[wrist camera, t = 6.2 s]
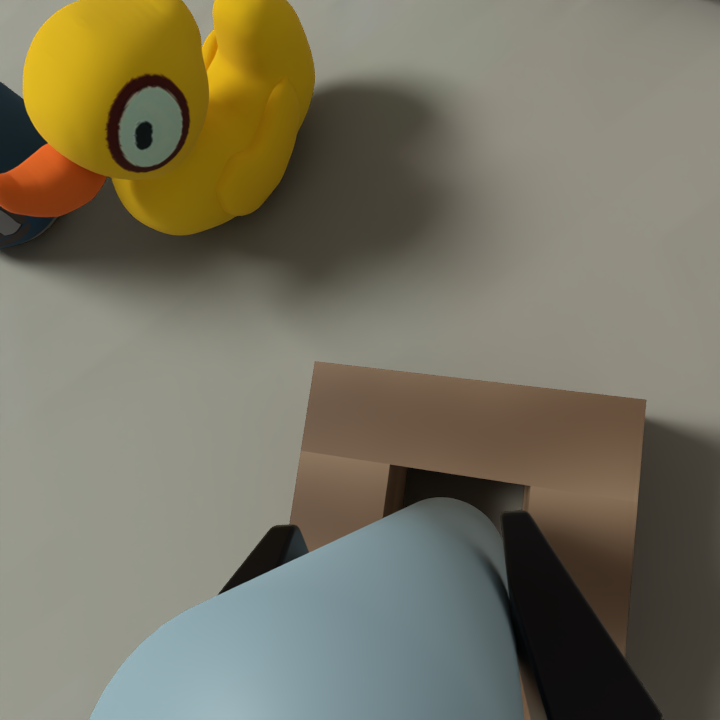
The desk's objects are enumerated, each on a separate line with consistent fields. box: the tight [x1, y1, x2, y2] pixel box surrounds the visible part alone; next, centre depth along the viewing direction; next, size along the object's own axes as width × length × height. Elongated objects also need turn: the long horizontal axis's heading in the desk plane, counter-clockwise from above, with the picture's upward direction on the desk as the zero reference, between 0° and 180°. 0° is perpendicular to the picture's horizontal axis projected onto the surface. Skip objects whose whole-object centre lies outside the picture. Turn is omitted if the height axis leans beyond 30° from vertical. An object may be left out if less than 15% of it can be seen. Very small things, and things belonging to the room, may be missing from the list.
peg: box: [89, 497, 524, 720], centre depth 10 cm, size 3×3×12 cm
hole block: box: [289, 361, 646, 720], centre depth 20 cm, size 10×10×4 cm
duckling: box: [0, 0, 315, 235], centre depth 21 cm, size 11×5×10 cm, turn 138°
